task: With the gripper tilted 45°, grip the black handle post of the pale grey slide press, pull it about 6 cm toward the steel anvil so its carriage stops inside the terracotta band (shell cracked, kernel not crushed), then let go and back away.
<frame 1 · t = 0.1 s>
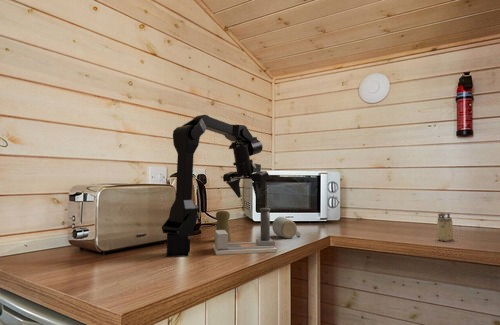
hand: (248, 197, 129), 15 cm above the countertop, tool pointing down, fingers open, 9 cm apart
ceramic mug: (287, 237, 131), on the countertop
press base: (244, 249, 107), on the countertop
press handle: (265, 226, 109), point 7 cm above the countertop, slide at 0.0 cm
cork: (222, 241, 123), on the countertop
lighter: (445, 240, 124), on the countertop
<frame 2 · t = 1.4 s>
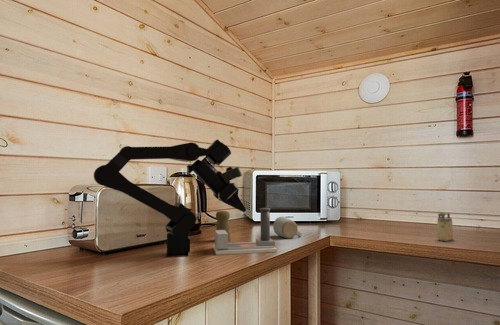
hand: (242, 209, 108), 13 cm above the countertop, tool tilted 45°, fingers open, 9 cm apart
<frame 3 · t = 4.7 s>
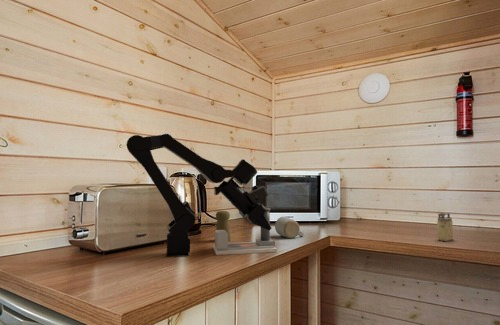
hand: (269, 228, 109), 7 cm above the countertop, tool tilted 45°, fingers closed on press handle, 3 cm apart
press handle: (265, 226, 109), point 7 cm above the countertop, slide at 0.0 cm, touching gripper
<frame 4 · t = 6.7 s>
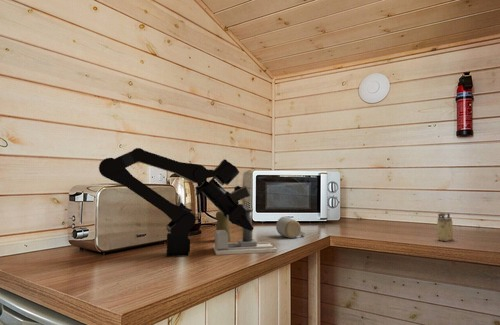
hand: (251, 229, 108), 7 cm above the countertop, tool tilted 45°, fingers closed on press handle, 3 cm apart
press handle: (247, 227, 108), point 7 cm above the countertop, slide at 6.0 cm, touching gripper
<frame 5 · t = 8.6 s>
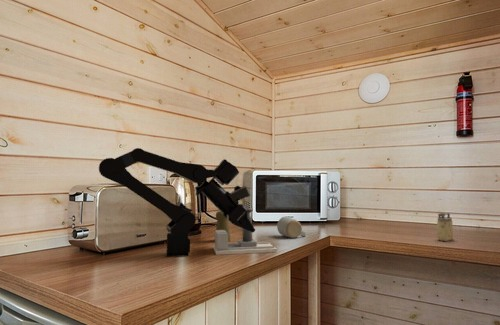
hand: (251, 229, 108), 7 cm above the countertop, tool tilted 45°, fingers open, 9 cm apart
press handle: (247, 227, 108), point 7 cm above the countertop, slide at 6.0 cm
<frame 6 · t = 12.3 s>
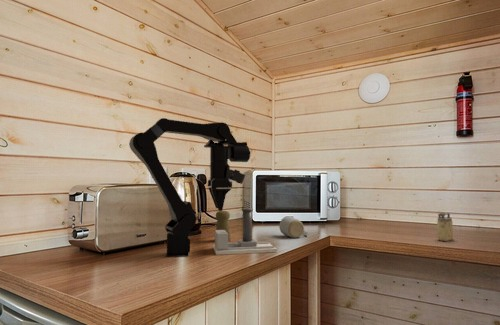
hand: (218, 209, 108), 13 cm above the countertop, tool pointing down, fingers open, 9 cm apart
at the end: press handle slide at 6.0 cm; the gripper is holding nothing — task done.
